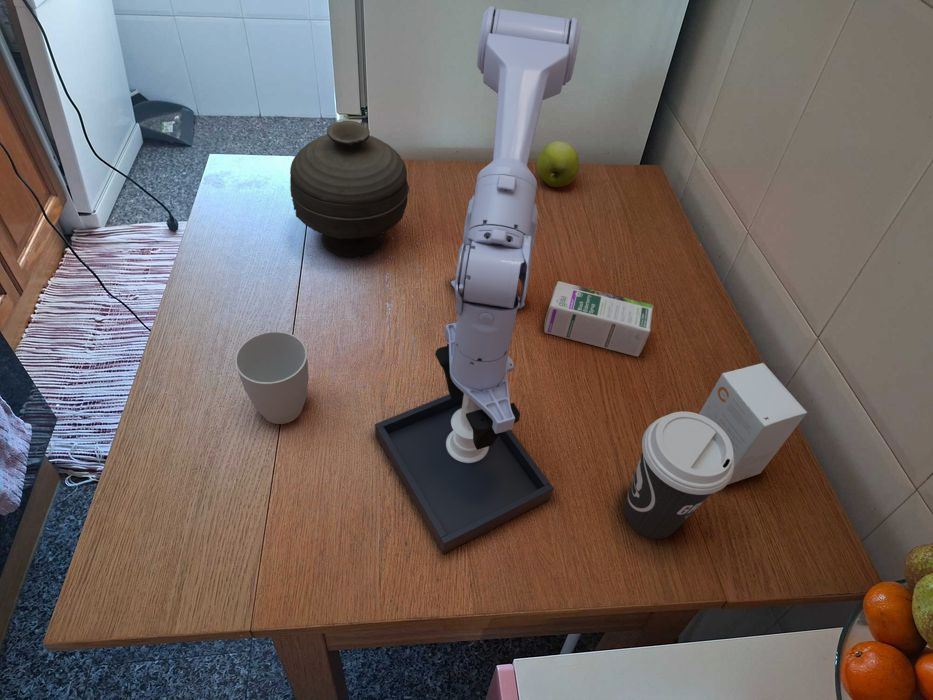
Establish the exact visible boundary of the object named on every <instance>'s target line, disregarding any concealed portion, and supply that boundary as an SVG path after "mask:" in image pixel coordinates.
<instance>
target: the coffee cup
mask: <svg viewBox="0 0 933 700" xmlns="http://www.w3.org/2000/svg"><path fill="white" fill-rule="evenodd" d="M641 451H642V452H641V454H640V457H639V461H638V463H637V466H636V468H635V472H634V474H633V477H632V480H631V483H630V486H629V488H628V491H627V494H626V497H625V500H624V504H623V513H624V517H625V520H626V521H627V523H628V524H629V525H630V527H631V528H632V529H633V530H634V531H635V532H636V533H638V534H640V535H641V536H643V537H646V538H648V539H652V540H661V539H666V538H668V537H671V536H672V535H673V534H674V533H675V532H676V531H677V530H678V528H679V527H681V526H682V525H683V524H684V523H685V521H687V519H689V517H690V516H691V515H692V514H693V513H694V512H695V511H696V510H697V509H698V508H699V507H700V506H701V505H702V504H703V503H704V502H705V501H706V500H707V499H708V498H709V497H710V496H711V495H712V494H714V493H717V492H720V491H722V490H723V489H724V488H726V487H727V484H728V483H729V481H730V480H731V478H732V475H733V471H734V454H733V447H732V444H731V441H730V439H729V437H728V436H727V434H726V433H725V432H724V430H723V429H722V428H721V427H720V426H719V425H717V424H716V423H715V422H713V421H712V420H710V419H709V418H707V417H705V416H702V415H700V414H699V413H696V412H692V411H676V412H672V413H668V414H667V415H663V416H661V417H660V418H658V419H656V420H654V421H653V422H652V423H651V424H650V425H648V427H646V428H645V431H644V432H643V435H642V439H641ZM728 485H729V484H728Z"/></svg>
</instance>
